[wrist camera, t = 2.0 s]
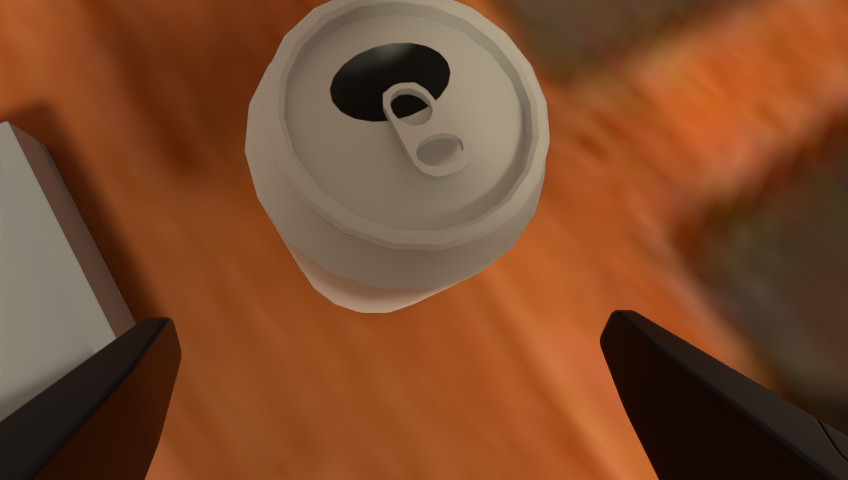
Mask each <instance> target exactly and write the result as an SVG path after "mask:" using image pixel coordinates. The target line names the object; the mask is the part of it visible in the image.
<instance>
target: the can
mask: <svg viewBox="0 0 848 480" xmlns="http://www.w3.org/2000/svg"><path fill="white" fill-rule="evenodd" d="M549 143H550V136H549V125H548V113H547V102H546V100H545V97H544V95H543V92H542V90H541V88H540V85H539V83H538V80H537V78H536V75H535V73H534V70H533V68H532V66H531V64H530V63H529V62H528V60H527V59H526V58H525V57H524V55H523V54H522V53H521V52H520V50H519V49H518V48H517V46H516V45H515V44H514V43H513V41H512V40H511V39H510V37H509V36H508V35H507V34H506V33H505V32H504V31H502V30H501V29H500V28H498V27H497V26H496V25H495V24H493V23H492V22H491V21H489V20H488V19H487V18H485V17H484V16H483V15H481V14H480V13H479V12H477V11H476V10H475V9H473V8H471V7H469V6H466V5H464V4H462V3H459V2H457V1H455V0H331V1H329V2H327V3H325V4H322V5H320V6H318V7H316V8H314V9H313V10H312V11H311V12H310V13H309V14H307V15H306V16H305V17H304V18H303V19H302V20H301V21H300V22H299V23H298V24H297V25H296V26H295V27H294V28H293V29H291V30H290V31H289V32H288V33H287V34H286V35H285V36H284V38H283V40H282V42H281V44H280V46H279V48H278V50H277V52H276V54H275V56H274V58H273V60H272V62H271V63H270V64H269V65H268V67H267V69H266V71H265V73H264V75H263V77H262V79H261V81H260V83H259V85H258V87H257V89H256V91H255V93H254V95H253V98H252V100H251V102H250V104H249V110H248V121H247V132H246V142H245V154H246V158H247V161H248V165H249V169H250V172H251V176H252V179H253V183H254V187H255V190H256V194H257V198H258V200H259V201H260V203H261V205H262V206H263V208H264V210H265V211H266V213H267V215H268V216H269V218H270V220H271V221H272V223H273V225H274V226H275V228H276V229H277V231H278V233H279V234H280V236H281V238H282V239H283V241H284V243H285V244H286V246H287V248H288V249H289V251H290V253H291V254H292V256H293V258H294V259H295V261H296V263H297V264H298V266H299V267H300V269H301V270H302V272H303V273H304V275H305V276H306V278H307V279H308V280H309V282H310V283H311V285H312V286H313V288H314V289H315V290H317V291H318V292H320V293H321V294H322V295H324V296H325V297H326V298H328V299H329V300H330V301H332V302H333V303H334V304H336V305H339V306H342V307H345V308H348V309H351V310H354V311H357V312H360V313H389V312H392V311H395V310H398V309H401V308H404V307H407V306H410V305H413V304H415V303H417V302H419V301H421V300H423V299H426V298H428V297H430V296H432V295H434V294H436V293H438V292H441V291H443V290H445V289H447V288H449V287H451V286H453V285H456V284H458V283H460V282H462V281H464V280H466V279H468V278H471V277H473V276H475V275H477V274H478V273H479V272H481V271H482V270H483V269H485V268H486V267H487V266H489V265H490V264H491V263H493V262H494V261H495V260H497V259H498V258H499V257H501V256H502V255H503V254H504V253H506V252H507V251H508V250H510V249H511V248H512V247H513V246H514V244H515V243H516V241H517V240H518V238H519V237H520V235H521V234H522V232H523V231H524V229H525V228H526V226H527V225H528V223H529V221H530V220H531V218H532V217H533V215H534V214H535V212H536V209H537V205H538V201H539V197H540V193H541V189H542V185H543V181H544V176H545V172H546V168H545V159H546V155H547V151H548V147H549Z"/></svg>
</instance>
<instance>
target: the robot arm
mask: <svg viewBox="0 0 848 480" xmlns="http://www.w3.org/2000/svg"><path fill="white" fill-rule="evenodd" d="M600 345H601V349H602V352H603V354H604V357H605V360H606V362H607V365H608V367H609V370H610V373H611V375H612V378H613V381H614V383H615V386H616V389H617V391H618V394H619V397H620V399H621V402H622V404H623V406H624V409H625V411H626V413H627V416H628V418H629V420H630V422H631V424H632V426H633V428H634V430H635V432H636V434H637V436H638V438H639V440H640V442H641V444H642V446H643V448H644V450H645V452H646V454H647V456H648V458H649V460H650V462H651V465H652V467H653V469H654V471H655V473H656V475H657V477H658V479H659V480H848V436H846V435H844V434H842V433H841V432H839V431H837V430H836V429H834V428H832V427H831V426H829V425H827V424H825V423H824V422H822V421H820V420H816V418H815V417H813V416H812V415H810V414H808V413H807V412H805V411H803V410H802V409H800V408H798V407H796V406H795V405H793V404H791V403H790V402H788V401H786V400H785V399H783V398H781V397H779V396H778V395H776V394H774V393H773V392H771V391H769V390H768V389H766V388H764V387H762V386H761V385H759V384H757V383H756V382H754V381H752V380H751V379H749V378H747V377H745V376H744V375H742V374H740V373H739V372H737V371H735V370H734V369H732V368H730V367H729V366H727V365H725V364H723V363H722V362H720V361H718V360H717V359H715V358H713V357H712V356H710V355H708V354H706V353H705V352H703V351H701V350H700V349H698V348H696V347H695V346H693V345H691V344H689V343H688V342H686V341H684V340H683V339H681V338H679V337H678V336H676V335H674V334H672V333H671V332H669V331H667V330H666V329H664V328H662V327H661V326H659V325H657V324H656V323H654V322H652V321H650V320H649V319H647V318H645V317H644V316H642V315H640V314H639V313H637V312H635V311H633V310H616V311H614V312H612V313H611V315H610V317H609V319H608V321H607V323H606V325H605V328H604V330H603V332H602V334H601V337H600ZM180 361H181V347H180V343H179V340H178V336H177V332H176V329H175V325H174V322H173V320H172V319H171V318H168V317H149V318H145V319H143V320H141V321H140V322H138V323H137V324H136V325H134V326H133V327H131V328H130V329H129V330H127V331H126V332H124V333H123V334H122V335H120V336H119V337H117V338H116V339H115V340H113V341H112V342H110V343H109V344H108V345H106V346H105V347H103V348H102V349H101V350H99V351H98V352H96V353H95V354H94V355H92V356H91V357H89V358H88V359H87V360H85V361H84V362H82V363H81V364H80V365H78V366H77V367H75V368H74V369H73V370H71V371H70V372H68V373H67V374H66V375H64V376H63V377H61V378H60V379H59V380H57V381H56V382H54V383H53V384H52V385H50V386H49V387H47V388H46V389H45V390H43V391H42V392H40V393H39V394H38V395H36V396H35V397H33V398H32V399H31V400H29V401H28V402H26V403H25V404H24V405H22V406H21V407H19V408H18V409H17V410H15V411H14V412H12V413H11V414H10V415H8V416H7V417H5V418H4V419H3V420H1V421H0V480H145V477H146V475H147V472H148V469H149V467H150V464H151V462H152V459H153V457H154V454H155V451H156V448H157V446H158V443H159V440H160V436H161V433H162V429H163V426H164V422H165V418H166V414H167V411H168V407H169V403H170V399H171V395H172V391H173V388H174V384H175V380H176V376H177V372H178V369H179V365H180Z"/></svg>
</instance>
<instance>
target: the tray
mask: <svg viewBox="0 0 848 480" xmlns="http://www.w3.org/2000/svg"><path fill="white" fill-rule="evenodd" d="M134 325H136V322H135V320H134V318H133V316H132V314H131V312H130V310H129V308H128V306H127V304H126V302H125V301H124V299H123V297H122V295H121V293H120V291H119V289H118V287H117V285H116V283H115V281H114V279H113V277H112V275H111V273H110V271H109V269H108V267H107V265H106V263H105V261H104V259H103V257H102V255H101V253H100V251H99V249H98V247H97V245H96V243H95V241H94V239H93V237H92V235H91V233H90V232H89V230H88V228H87V226H86V224H85V222H84V220H83V218H82V216H81V214H80V212H79V210H78V208H77V206H76V204H75V202H74V200H73V198H72V196H71V194H70V192H69V190H68V188H67V186H66V184H65V182H64V180H63V178H62V176H61V174H60V172H59V170H58V168H57V166H56V164H55V163H54V161H53V159H52V157H51V155H50V153H49V151H48V149H47V147H46V146H45V145H44V144H42V143H41V142H39V141H38V140H36V139H35V138H33V137H31V136H30V135H28V134H27V133H25V132H24V131H22V130H21V129H19V128H18V127H16V126H15V125H13V124H11V123H10V122H8V121H6V122H3V123H0V421H1V420H3V419H4V418H5V417H7V416H8V415H10V414H11V413H12V412H14V411H15V410H17V409H18V408H19V407H21V406H22V405H24V404H25V403H26V402H28V401H29V400H31V399H32V398H33V397H35V396H36V395H38V394H39V393H40V392H42V391H43V390H45V389H46V388H47V387H49V386H50V385H52V384H53V383H54V382H56V381H57V380H59V379H60V378H61V377H63V376H64V375H66V374H67V373H68V372H70V371H71V370H73V369H74V368H75V367H77V366H78V365H80V364H81V363H82V362H84V361H85V360H87V359H88V358H89V357H91V356H92V355H94V354H95V353H96V352H98V351H99V350H101V349H102V348H103V347H105V346H106V345H108V344H109V343H110V342H112V341H113V340H115V339H116V338H117V337H119V336H120V335H122V334H123V333H124V332H126V331H127V330H129V329H130V328H131V327H133V326H134Z"/></svg>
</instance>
